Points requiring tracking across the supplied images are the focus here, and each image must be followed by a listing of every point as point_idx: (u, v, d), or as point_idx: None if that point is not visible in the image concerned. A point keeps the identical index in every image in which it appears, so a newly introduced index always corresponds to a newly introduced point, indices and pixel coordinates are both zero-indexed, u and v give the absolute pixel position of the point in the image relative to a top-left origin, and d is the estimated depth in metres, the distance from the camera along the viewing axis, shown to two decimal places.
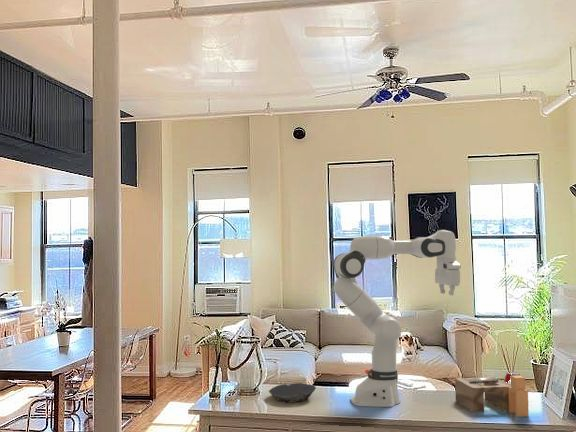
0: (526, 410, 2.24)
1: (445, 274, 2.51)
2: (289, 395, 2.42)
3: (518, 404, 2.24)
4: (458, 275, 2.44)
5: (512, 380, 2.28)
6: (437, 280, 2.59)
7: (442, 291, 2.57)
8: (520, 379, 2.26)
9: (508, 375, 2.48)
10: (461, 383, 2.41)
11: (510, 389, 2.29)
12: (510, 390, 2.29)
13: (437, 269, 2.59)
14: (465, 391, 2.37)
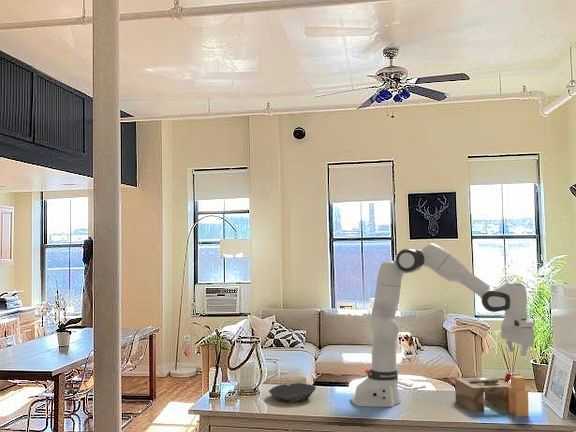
0: (526, 410, 2.24)
1: (516, 331, 2.26)
2: (289, 395, 2.42)
3: (518, 404, 2.24)
4: (532, 334, 2.19)
5: (512, 380, 2.28)
6: (504, 336, 2.35)
7: (510, 349, 2.32)
8: (520, 379, 2.26)
9: (508, 375, 2.48)
10: (461, 383, 2.41)
11: (510, 389, 2.29)
12: (510, 390, 2.29)
13: (504, 324, 2.35)
14: (465, 391, 2.37)
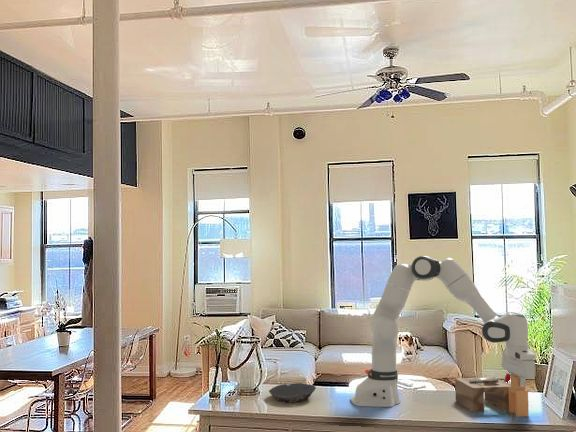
0: (526, 410, 2.24)
1: (516, 363, 2.26)
2: (289, 395, 2.42)
3: (518, 404, 2.24)
4: (533, 367, 2.19)
5: (512, 380, 2.28)
6: (505, 367, 2.34)
7: None
8: None
9: (508, 375, 2.48)
10: (461, 383, 2.41)
11: (510, 389, 2.29)
12: (510, 390, 2.29)
13: (505, 354, 2.34)
14: (465, 391, 2.37)
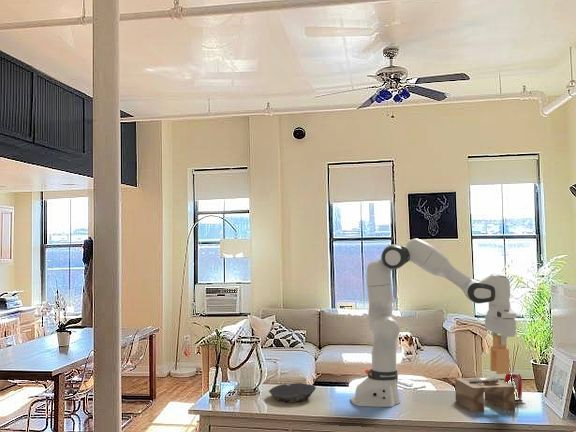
0: (507, 368, 2.31)
1: (498, 322, 2.33)
2: (289, 395, 2.42)
3: (499, 362, 2.31)
4: (514, 325, 2.26)
5: (494, 339, 2.35)
6: (488, 327, 2.41)
7: None
8: None
9: (508, 375, 2.48)
10: (461, 383, 2.41)
11: (492, 348, 2.36)
12: (492, 349, 2.36)
13: (488, 315, 2.41)
14: (465, 391, 2.37)
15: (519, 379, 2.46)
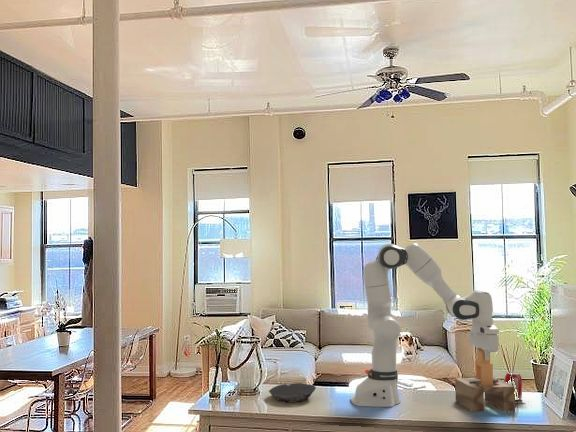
0: (491, 382, 2.37)
1: (482, 338, 2.39)
2: (289, 395, 2.42)
3: (483, 376, 2.37)
4: (496, 341, 2.32)
5: (478, 354, 2.41)
6: (472, 342, 2.47)
7: None
8: None
9: (508, 375, 2.48)
10: (461, 383, 2.41)
11: (476, 362, 2.42)
12: (476, 363, 2.42)
13: (472, 330, 2.47)
14: (465, 391, 2.37)
15: (519, 379, 2.46)
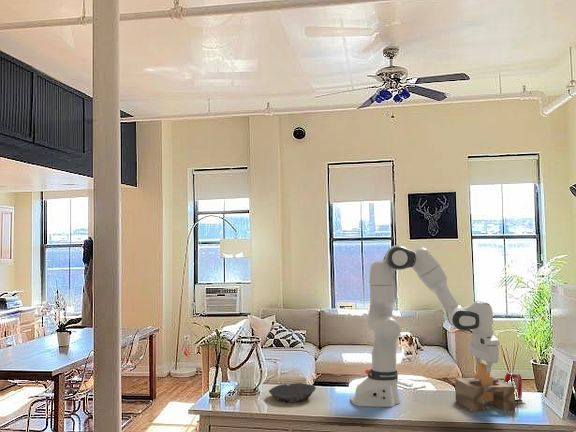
0: (491, 395, 2.37)
1: (482, 349, 2.39)
2: (289, 395, 2.42)
3: None
4: (497, 352, 2.32)
5: (478, 367, 2.41)
6: (472, 353, 2.47)
7: None
8: (485, 366, 2.39)
9: (508, 375, 2.48)
10: (461, 383, 2.41)
11: (476, 375, 2.42)
12: (476, 376, 2.42)
13: (472, 341, 2.47)
14: (465, 391, 2.37)
15: (519, 379, 2.46)
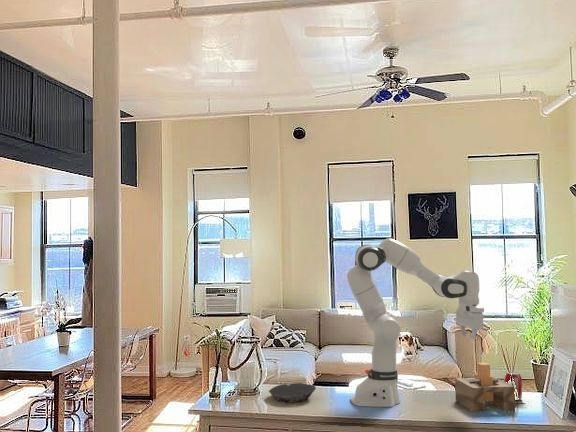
0: (491, 395, 2.37)
1: (467, 316, 2.43)
2: (289, 395, 2.42)
3: None
4: (481, 319, 2.36)
5: (478, 367, 2.41)
6: (458, 321, 2.51)
7: (463, 333, 2.49)
8: (485, 366, 2.39)
9: (508, 375, 2.48)
10: (461, 383, 2.41)
11: (476, 375, 2.42)
12: (476, 376, 2.42)
13: (458, 310, 2.51)
14: (465, 391, 2.37)
15: (519, 379, 2.46)
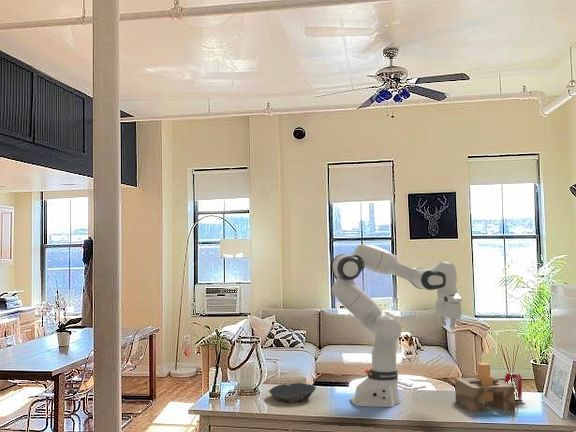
0: (491, 395, 2.37)
1: (446, 307, 2.48)
2: (289, 395, 2.42)
3: None
4: (459, 309, 2.41)
5: (478, 367, 2.41)
6: (438, 312, 2.56)
7: (443, 323, 2.54)
8: (485, 366, 2.39)
9: (508, 375, 2.48)
10: (461, 383, 2.41)
11: (476, 375, 2.42)
12: (476, 376, 2.42)
13: (438, 301, 2.56)
14: (465, 391, 2.37)
15: (519, 379, 2.46)
